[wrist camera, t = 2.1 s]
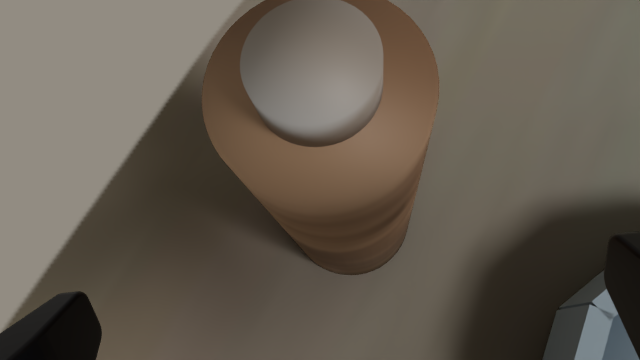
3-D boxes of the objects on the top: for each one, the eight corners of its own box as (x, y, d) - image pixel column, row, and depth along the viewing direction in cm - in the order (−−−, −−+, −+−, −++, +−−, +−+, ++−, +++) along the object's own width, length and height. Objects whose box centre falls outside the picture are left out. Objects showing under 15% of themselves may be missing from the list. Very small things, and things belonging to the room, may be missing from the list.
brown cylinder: (383, 293, 19) (388, 227, 8) (276, 249, 20) (137, 131, 9) (424, 186, 20) (482, -15, 9) (320, 148, 21) (248, -77, 10)
